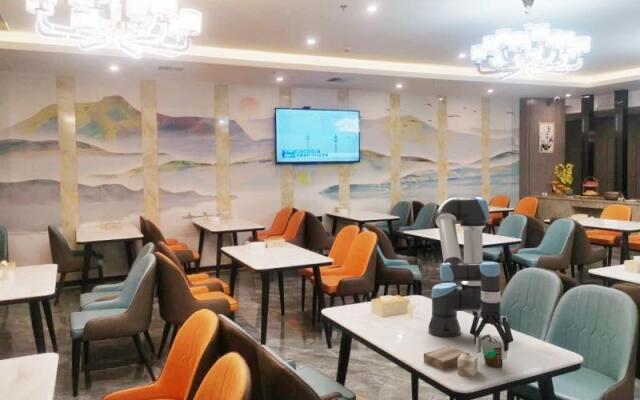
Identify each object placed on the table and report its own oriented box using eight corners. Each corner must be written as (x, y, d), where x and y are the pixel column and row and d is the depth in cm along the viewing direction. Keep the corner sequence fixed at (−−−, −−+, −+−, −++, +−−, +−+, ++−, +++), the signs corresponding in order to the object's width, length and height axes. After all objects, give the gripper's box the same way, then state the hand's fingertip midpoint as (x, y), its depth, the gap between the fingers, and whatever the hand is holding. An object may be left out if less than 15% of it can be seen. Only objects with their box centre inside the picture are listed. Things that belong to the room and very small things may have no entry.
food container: (477, 359, 217) (475, 335, 217) (491, 357, 218) (489, 333, 217) (489, 369, 205) (486, 344, 205) (504, 367, 205) (502, 342, 205)
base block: (423, 363, 215) (423, 353, 215) (449, 355, 223) (449, 345, 223) (443, 371, 206) (443, 361, 206) (469, 362, 214) (469, 353, 214)
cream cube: (457, 374, 202) (457, 358, 202) (462, 368, 207) (462, 353, 207) (473, 377, 199) (473, 361, 199) (477, 371, 204) (477, 356, 204)
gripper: (460, 298, 215) (461, 351, 216) (513, 307, 199) (514, 364, 200) (469, 294, 220) (470, 346, 221) (522, 303, 204) (523, 359, 205)
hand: (491, 355), depth 211 cm, fingers closed on food container, 10 cm apart
